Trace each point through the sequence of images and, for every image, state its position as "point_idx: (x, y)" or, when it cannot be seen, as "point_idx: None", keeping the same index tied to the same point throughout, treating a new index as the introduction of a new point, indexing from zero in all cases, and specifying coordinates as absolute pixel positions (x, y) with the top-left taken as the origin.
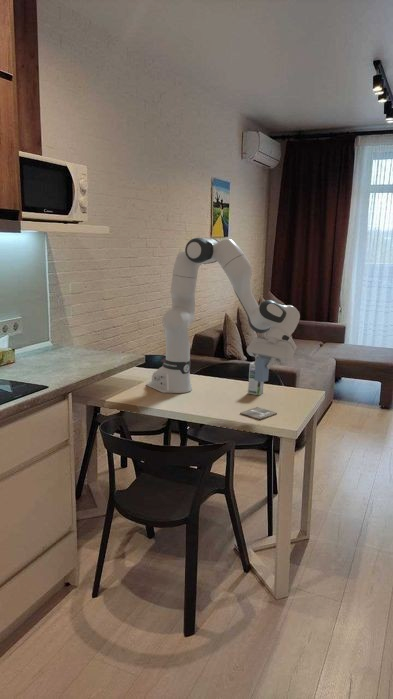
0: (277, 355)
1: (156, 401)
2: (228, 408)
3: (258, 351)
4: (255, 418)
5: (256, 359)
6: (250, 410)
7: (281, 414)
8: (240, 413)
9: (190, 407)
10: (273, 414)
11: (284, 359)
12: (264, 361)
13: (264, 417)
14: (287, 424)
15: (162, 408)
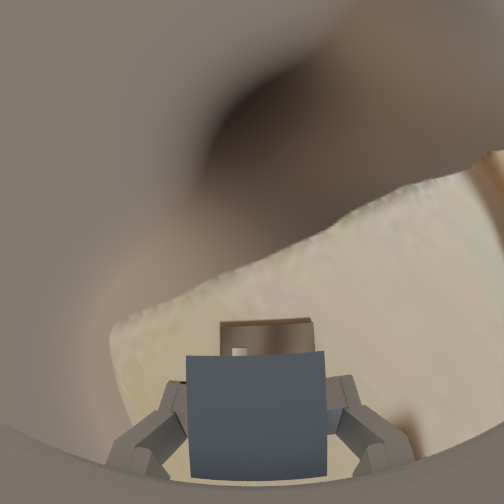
0: (55, 466)
1: (492, 208)
2: (379, 335)
3: (405, 486)
4: (241, 326)
5: (308, 353)
6: None
7: None
8: (310, 322)
9: (437, 240)
10: None
11: (10, 426)
12: (192, 372)
13: (221, 353)
14: (140, 363)
15: (449, 182)
